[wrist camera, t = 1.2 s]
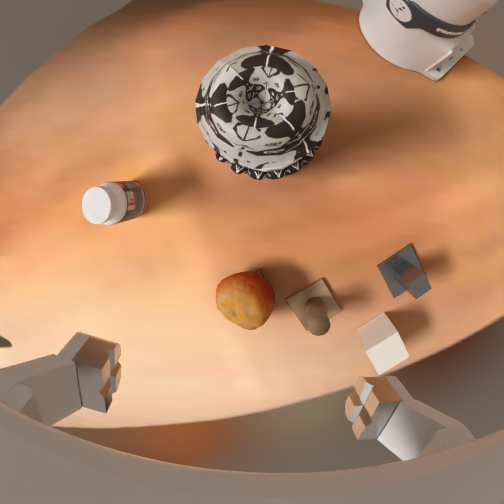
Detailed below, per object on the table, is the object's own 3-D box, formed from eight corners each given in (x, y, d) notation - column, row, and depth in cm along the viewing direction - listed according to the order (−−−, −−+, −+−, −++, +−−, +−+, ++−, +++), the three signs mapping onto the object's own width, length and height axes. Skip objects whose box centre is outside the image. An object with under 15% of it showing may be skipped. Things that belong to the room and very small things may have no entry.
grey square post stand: (409, 243, 40) (430, 254, 33) (424, 276, 41) (444, 291, 34) (377, 265, 41) (393, 280, 34) (393, 297, 42) (409, 315, 35)
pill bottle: (146, 177, 41) (111, 177, 32) (151, 215, 43) (118, 224, 33) (114, 185, 42) (76, 187, 32) (119, 220, 43) (83, 231, 34)
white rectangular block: (383, 312, 43) (397, 331, 36) (395, 335, 43) (409, 356, 37) (355, 329, 44) (365, 351, 37) (368, 352, 44) (378, 375, 38)
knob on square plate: (321, 277, 42) (328, 295, 36) (340, 309, 43) (350, 331, 36) (286, 299, 43) (286, 319, 37) (306, 329, 44) (310, 353, 38)
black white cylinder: (224, 145, 39) (147, 98, 15) (275, 103, 37) (267, 5, 13) (267, 195, 40) (248, 213, 16) (319, 152, 38) (375, 110, 14)
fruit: (297, 295, 42) (271, 332, 36) (259, 308, 47) (232, 341, 41) (265, 248, 41) (233, 280, 35) (230, 267, 46) (197, 296, 40)
